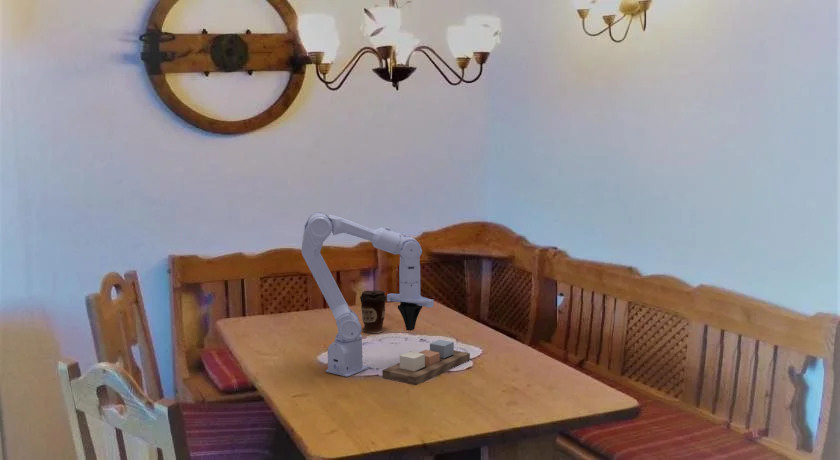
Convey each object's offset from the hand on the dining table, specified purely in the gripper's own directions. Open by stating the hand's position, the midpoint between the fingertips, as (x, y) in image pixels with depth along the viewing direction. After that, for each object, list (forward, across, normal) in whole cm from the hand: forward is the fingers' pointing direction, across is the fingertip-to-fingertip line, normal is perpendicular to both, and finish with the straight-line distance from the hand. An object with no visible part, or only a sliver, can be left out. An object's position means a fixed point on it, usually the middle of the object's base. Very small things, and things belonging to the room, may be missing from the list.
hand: (410, 329), depth 221 cm
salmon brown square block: (+10, -5, -1) cm, 11 cm away
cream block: (+8, -5, +6) cm, 11 cm away
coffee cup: (+11, +32, -23) cm, 41 cm away
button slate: (+8, -5, -8) cm, 13 cm away
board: (+10, -5, -1) cm, 12 cm away
